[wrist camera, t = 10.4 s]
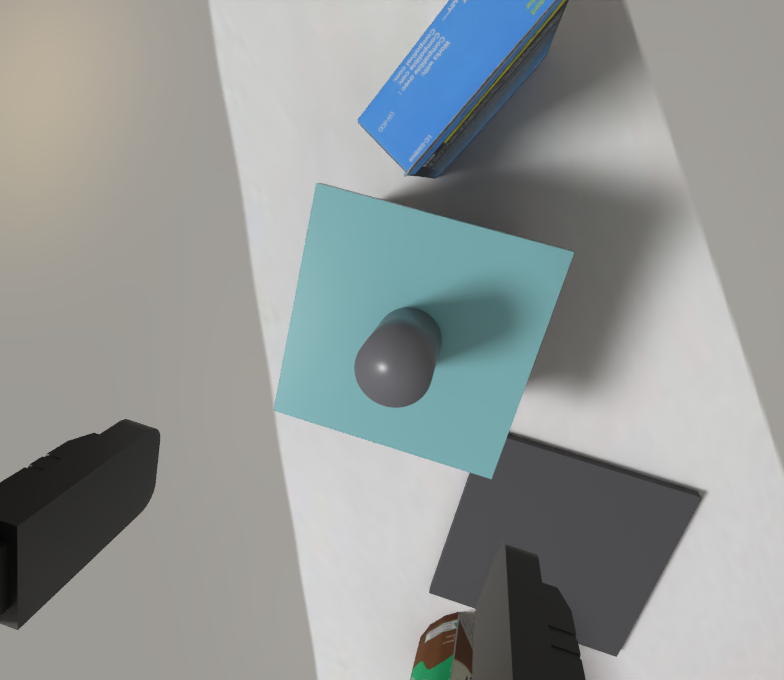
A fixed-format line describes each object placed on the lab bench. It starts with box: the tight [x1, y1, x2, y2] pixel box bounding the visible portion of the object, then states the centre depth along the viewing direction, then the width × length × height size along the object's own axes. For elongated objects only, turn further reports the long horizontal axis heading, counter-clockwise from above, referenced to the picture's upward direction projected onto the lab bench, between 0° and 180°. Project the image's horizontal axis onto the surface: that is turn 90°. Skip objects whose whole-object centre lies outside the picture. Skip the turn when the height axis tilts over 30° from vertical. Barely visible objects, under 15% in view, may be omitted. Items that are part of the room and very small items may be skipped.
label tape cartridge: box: [358, 0, 568, 178], centre depth 22 cm, size 9×4×12 cm, turn 138°
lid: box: [274, 183, 574, 479], centre depth 23 cm, size 12×12×5 cm
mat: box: [429, 434, 701, 657], centre depth 35 cm, size 14×14×1 cm
